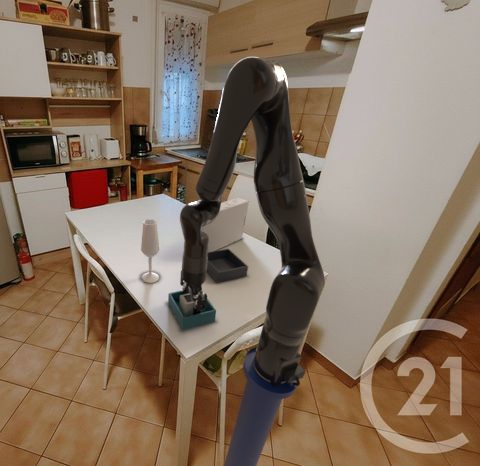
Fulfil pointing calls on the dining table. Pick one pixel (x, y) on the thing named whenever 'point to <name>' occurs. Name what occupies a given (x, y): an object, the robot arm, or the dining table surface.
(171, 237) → the dining table surface
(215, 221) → the packaging
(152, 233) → the champagne flute
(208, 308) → the near tote
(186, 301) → the white box with panel
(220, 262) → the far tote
